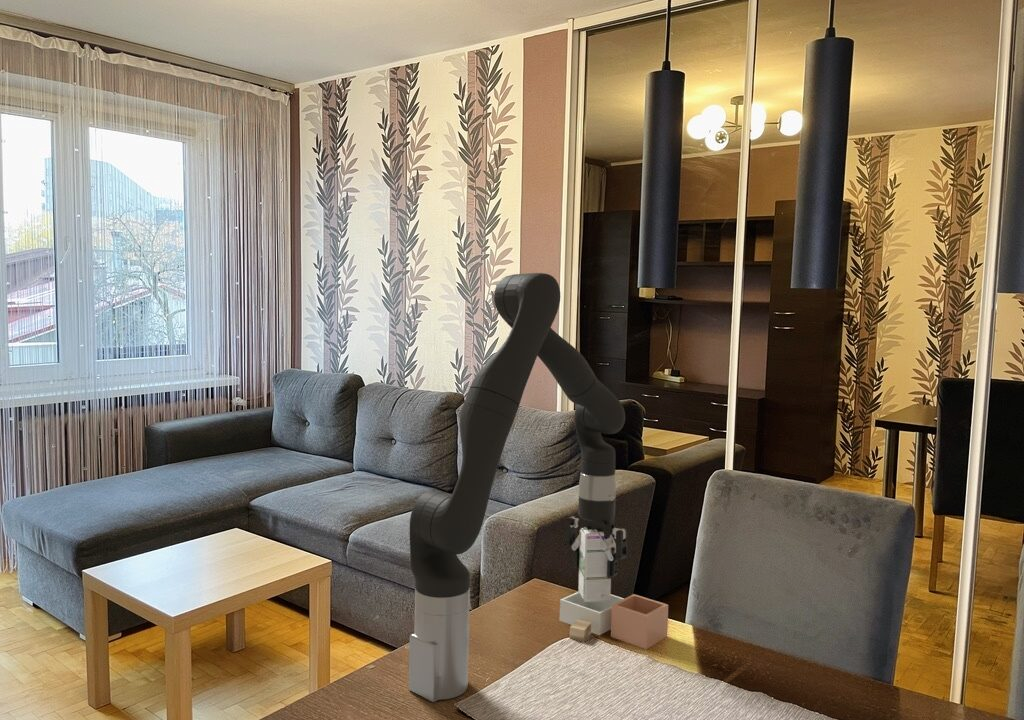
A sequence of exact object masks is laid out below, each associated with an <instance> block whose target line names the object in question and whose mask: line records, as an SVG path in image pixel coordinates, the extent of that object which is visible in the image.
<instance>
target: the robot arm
mask: <svg viewBox="0 0 1024 720" xmlns="http://www.w3.org/2000/svg"><path fill="white" fill-rule="evenodd" d="M493 303H494V306H495V308H496V311H497V312H498V314H499V316H500V317H501V319H502V320H504V322H505V323H506V324H507V325H508V326H509V327H510V328H511V330H510V332H509V334H508V336H507V338H505V339H506V340H505V341H504V343H502V345H501V346H500V348H499V349H498V350H497V351H496V352H495V353H494V354H493V356H491V358H489V359H488V361H487V362H486V363H485V364H484V365H483V366H482V367H481V368H480V369H479V371H478V372H477V373H476V375H475V376H474V377H473V380H472V382H471V384H470V386H469V388H468V392H467V394H466V397H465V400H464V402H463V404H462V407H461V412H460V414H459V415H460V416H459V434H460V442H461V443H460V444H461V452H462V454H461V456H462V458H461V459H462V460H461V465H460V466H461V467H460V471H459V475H458V478H457V479H456V480H457V481H456V483H455V486H454V489H453V491H452V493H448V492H446V491H442V490H428V491H426V492H424V493H423V494H421V495H420V496H419V497H418V498H417V500H416V501H415V503H414V505H413V507H412V510H411V513H410V517H409V554H410V555H409V557H410V570H411V573H412V576H413V578H414V625H413V626H414V627H413V628H414V630H413V633H412V634H411V633H410V635H409V653H408V655H409V656H408V657H409V658H408V666H409V667H408V670H409V671H408V690H409V691H411V692H413V693H414V694H417V695H419V696H420V697H422V698H424V699H426V700H428V701H429V702H432V703H435V702H437V701H441V700H450V699H454V698H457V697H459V696H461V695H463V694H464V693H466V691H467V689H468V685H469V683H468V682H469V647H470V646H469V645H470V644H469V641H470V639H469V638H470V601H471V600H470V599H471V598H470V597H471V596H470V595H471V594H470V593H471V592H470V591H471V575H470V570H469V569H468V568H467V567H466V566H465V564H464V563H463V562H462V561H461V560H460V558H459V557H458V555H462V554H464V553H466V552H467V551H469V550H470V549H471V548H472V546H473V545H474V544H475V543H476V540H477V538H478V536H479V535H480V532H481V530H482V527H483V523H484V520H485V517H486V513H487V512H486V511H487V508H488V505H489V499H490V495H491V490H492V488H493V484H494V479H495V476H496V473H497V470H498V466H499V465H500V460H501V457H502V454H503V452H504V448H505V445H506V442H507V439H508V436H509V434H510V431H511V428H512V426H513V425H514V422H515V418H516V416H517V413H518V411H519V407H520V404H521V401H522V397H523V394H524V393H525V388H526V387H527V383H528V381H529V379H530V375H531V372H532V371H533V368H534V366H535V363H536V360H537V358H539V360H540V361H542V363H543V364H544V365H545V367H546V368H547V369H548V371H549V372H550V373H551V375H552V377H553V378H554V379H555V381H556V382H557V384H558V385H559V387H560V389H561V390H562V392H563V393H564V395H565V396H566V397H567V399H568V400H569V401H570V402H572V403H574V404H576V407H575V410H574V416H573V419H574V421H573V422H574V427H575V432H576V435H577V436H576V437H577V442H578V445H579V449H580V453H581V454H580V476H579V482H578V507H577V508H578V509H577V511H578V512H577V513H578V515H577V516H578V517H579V518H578V517H577V516H576V515H572V516H570V517H567V518H565V519H566V520H565V533H564V544H565V546H569V547H571V549H572V565H573V568H574V569H577V570H579V546H580V543H581V533H580V532H579V534H578V529H579V531H580V530H581V528H583V529H582V530H589V529H592V530H594V531H595V532H600V531H601V532H604V538H603V537H602V536H601V535H600V533H598V534H599V537H600V540H601V541H600V546H601V548H602V550H603V551H605V553H606V555H607V557H608V559H609V560H608V561H607V578H610V579H611V580H612V579H614V578H616V576H617V575H618V573H619V561H621V560H623V559H626V558H627V557H628V551H629V550H628V546H629V545H628V539H629V535H628V533H629V531H628V529H627V528H626V527H624V528H617V527H615V524H614V520H615V518H616V517H615V516H616V495H617V492H616V491H617V490H616V489H617V486H616V485H617V483H616V449H615V447H613V446H612V445H611V444H609V443H607V442H606V441H605V440H604V439H603V436H602V434H605V435H613V434H616V433H619V432H620V431H621V430H622V429H623V427H624V425H625V422H626V412H625V409H624V406H623V404H622V402H621V401H620V400H619V399H618V398H617V396H616V395H615V394H614V393H613V392H612V391H611V390H610V389H609V388H608V387H607V386H606V385H605V384H604V383H602V382H601V381H600V380H598V378H597V376H596V375H595V374H596V373H594V371H593V369H592V368H591V366H590V365H589V363H588V361H587V360H586V357H584V355H582V353H581V352H580V351H579V350H577V348H575V347H574V346H573V345H572V344H571V343H570V342H568V341H567V340H565V338H563V336H560V334H558V333H557V332H556V331H555V330H554V329H553V328H552V326H553V324H554V322H555V319H556V316H557V314H558V312H559V308H560V303H561V288H560V285H559V283H558V281H557V279H556V278H555V276H553V275H551V274H549V273H543V272H529V273H528V272H527V273H516V274H515V273H514V274H510V275H506V276H504V277H503V278H501V279H500V280H499V281H498V282H497V283H496V286H495V289H494V294H493ZM577 534H578V535H577ZM611 534H612V544H611V545H610V544H609V545H607V544H606V542H605V540H604V539H608V538H609V536H610V535H611ZM613 536H614V537H613ZM610 548H611V549H610Z"/></svg>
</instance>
